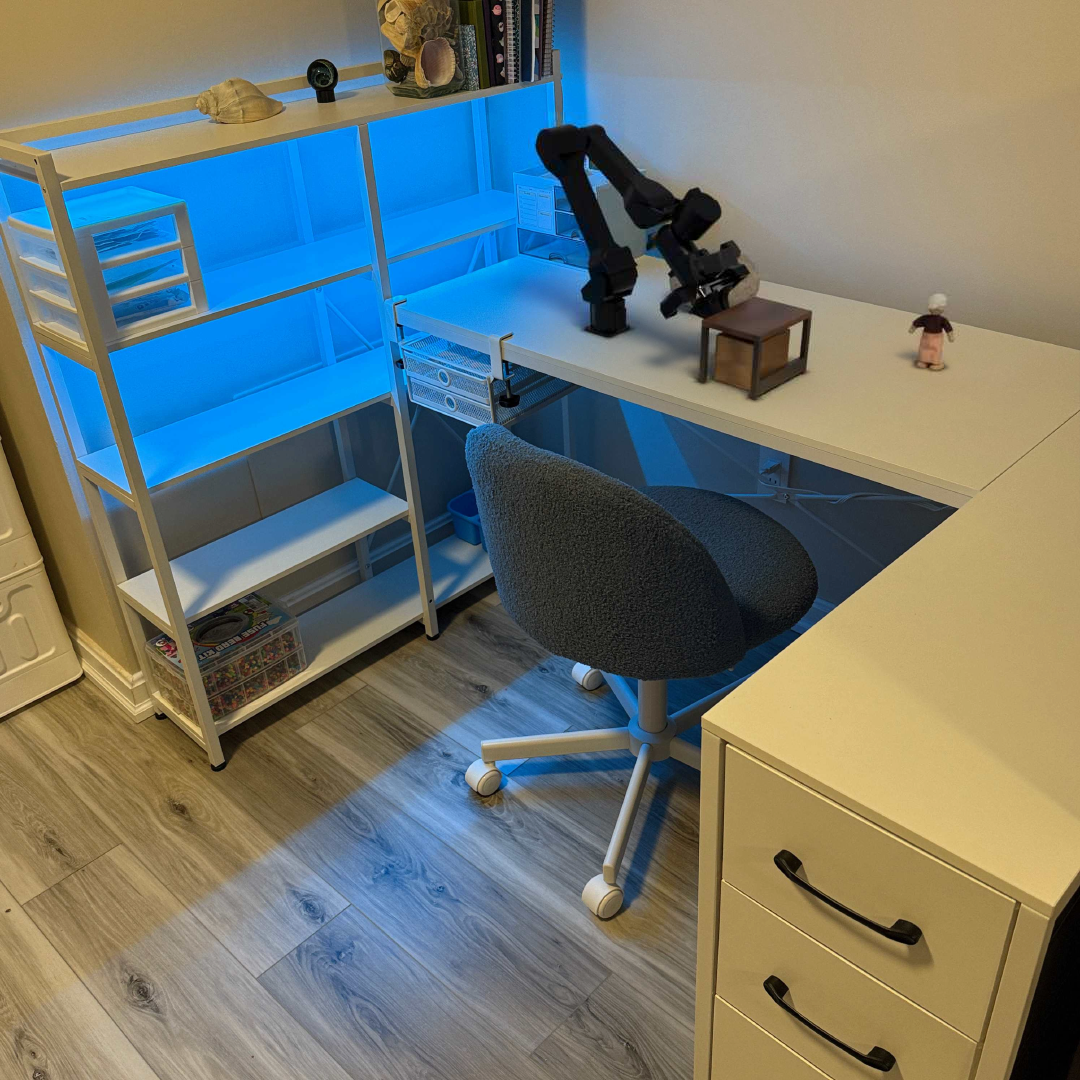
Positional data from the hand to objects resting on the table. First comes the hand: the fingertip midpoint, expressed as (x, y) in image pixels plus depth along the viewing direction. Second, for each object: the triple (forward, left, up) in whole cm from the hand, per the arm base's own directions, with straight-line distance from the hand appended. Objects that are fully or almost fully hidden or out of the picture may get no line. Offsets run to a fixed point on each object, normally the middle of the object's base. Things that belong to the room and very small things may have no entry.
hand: (732, 331), depth 178 cm
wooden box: (+4, 0, -7) cm, 8 cm away
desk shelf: (+5, 0, -7) cm, 8 cm away
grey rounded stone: (-22, +25, -7) cm, 34 cm away
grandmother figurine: (+25, +23, -7) cm, 34 cm away
